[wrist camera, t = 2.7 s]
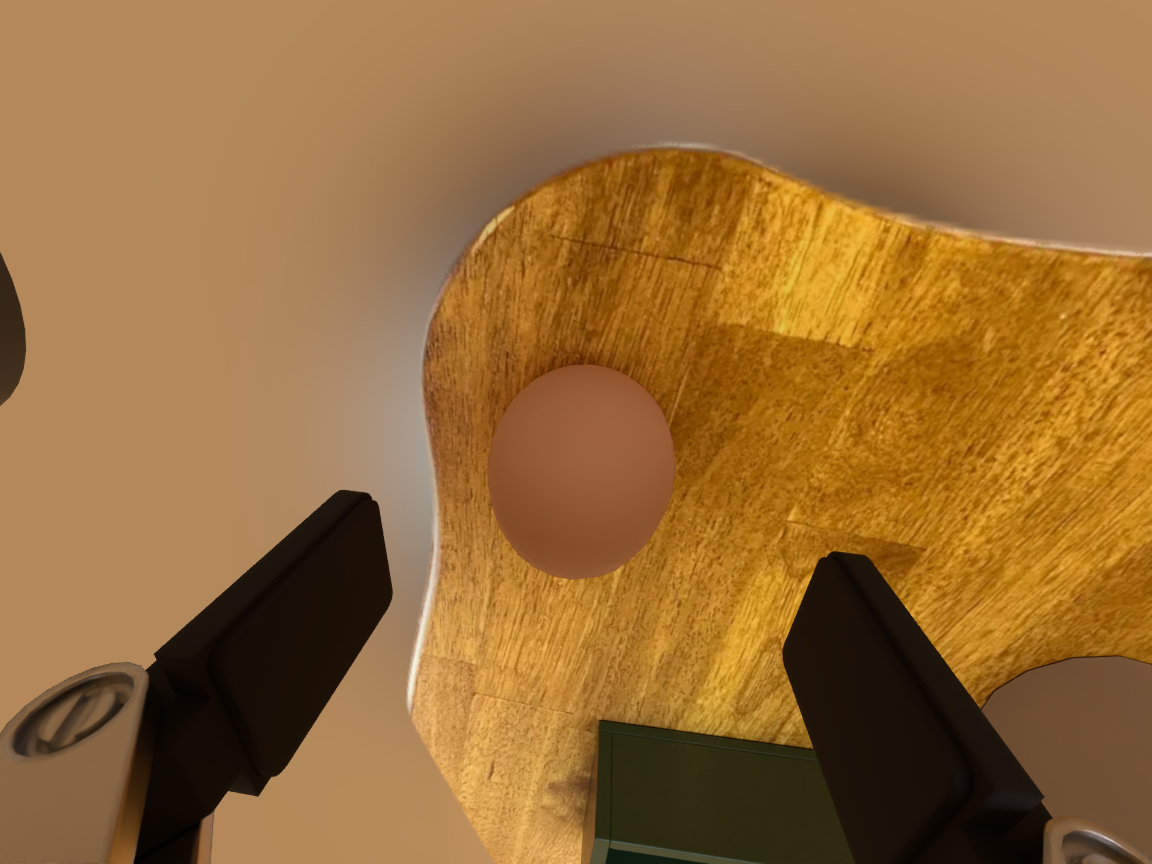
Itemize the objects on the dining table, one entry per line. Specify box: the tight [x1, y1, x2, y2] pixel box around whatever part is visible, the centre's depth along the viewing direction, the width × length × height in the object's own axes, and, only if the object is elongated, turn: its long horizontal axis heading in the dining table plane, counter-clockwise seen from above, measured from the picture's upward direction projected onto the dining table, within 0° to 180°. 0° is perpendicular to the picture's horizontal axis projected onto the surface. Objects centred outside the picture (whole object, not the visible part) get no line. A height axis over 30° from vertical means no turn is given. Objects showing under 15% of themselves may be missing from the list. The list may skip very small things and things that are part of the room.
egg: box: [488, 364, 675, 580], centre depth 13 cm, size 6×6×8 cm
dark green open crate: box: [581, 720, 855, 864], centre depth 26 cm, size 14×14×6 cm
